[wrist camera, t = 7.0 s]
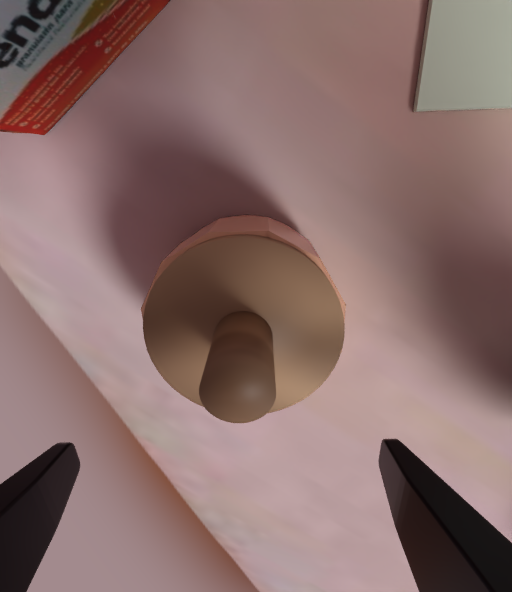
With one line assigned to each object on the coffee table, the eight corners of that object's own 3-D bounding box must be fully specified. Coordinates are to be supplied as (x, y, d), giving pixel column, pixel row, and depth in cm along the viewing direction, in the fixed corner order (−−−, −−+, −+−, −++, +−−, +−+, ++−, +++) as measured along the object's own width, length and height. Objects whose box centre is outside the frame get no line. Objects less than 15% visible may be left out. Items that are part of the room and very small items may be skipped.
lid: (333, 403, 18) (358, 484, 13) (163, 405, 18) (130, 485, 13) (348, 231, 14) (390, 263, 9) (132, 236, 14) (73, 269, 10)
